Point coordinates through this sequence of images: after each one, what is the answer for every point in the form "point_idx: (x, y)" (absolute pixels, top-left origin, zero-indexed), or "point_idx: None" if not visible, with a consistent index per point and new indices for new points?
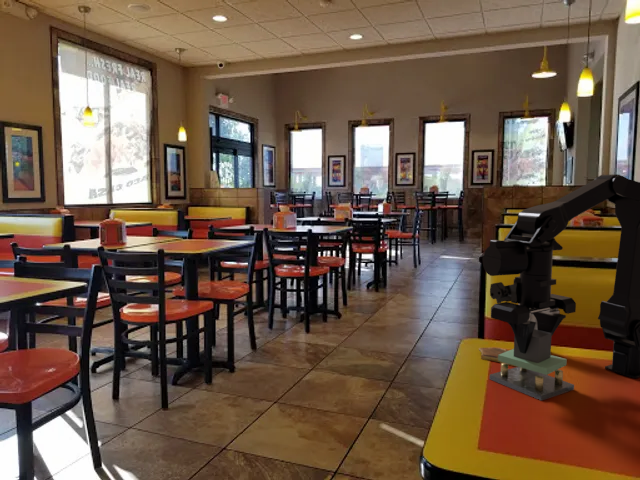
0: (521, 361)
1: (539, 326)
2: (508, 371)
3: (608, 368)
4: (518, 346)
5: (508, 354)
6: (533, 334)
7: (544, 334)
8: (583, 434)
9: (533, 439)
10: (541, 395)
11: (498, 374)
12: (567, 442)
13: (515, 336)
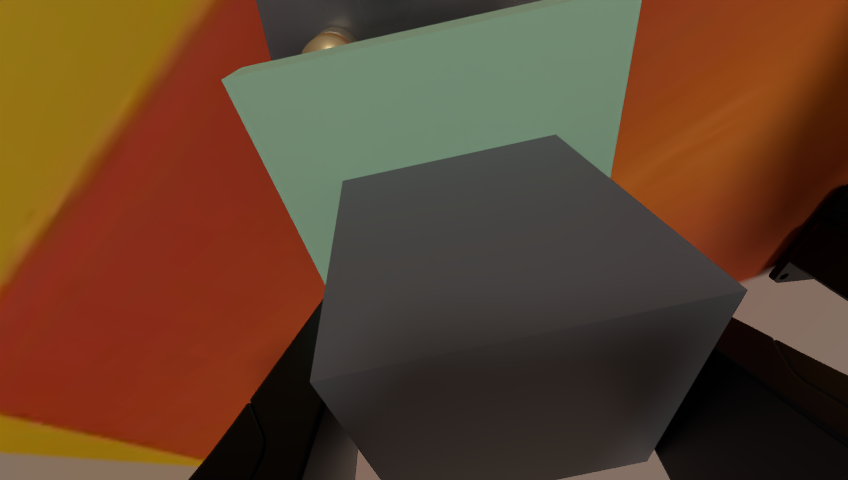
0: (319, 270)
1: (768, 421)
2: (427, 3)
3: (835, 204)
4: (319, 306)
5: (337, 122)
6: (459, 462)
7: (547, 475)
8: None
9: (134, 397)
10: None
11: (316, 11)
12: (218, 415)
13: (254, 402)
